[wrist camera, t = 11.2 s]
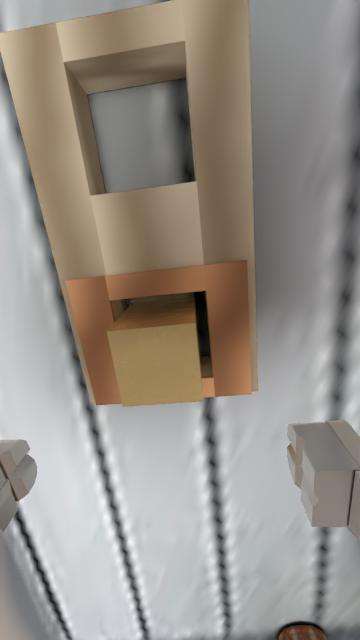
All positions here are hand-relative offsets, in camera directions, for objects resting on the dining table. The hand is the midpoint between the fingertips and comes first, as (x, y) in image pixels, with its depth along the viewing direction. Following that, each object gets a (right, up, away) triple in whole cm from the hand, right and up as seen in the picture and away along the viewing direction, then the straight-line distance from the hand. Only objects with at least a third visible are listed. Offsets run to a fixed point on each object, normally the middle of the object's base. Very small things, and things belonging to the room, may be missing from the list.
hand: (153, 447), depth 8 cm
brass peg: (0, +4, +12) cm, 12 cm away
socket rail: (-1, +9, +10) cm, 14 cm away
